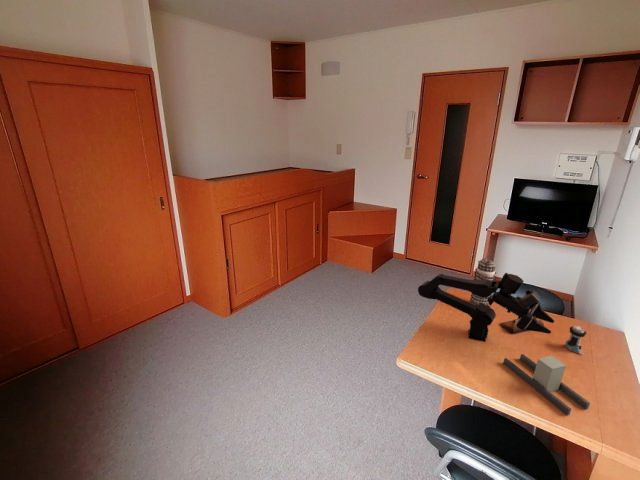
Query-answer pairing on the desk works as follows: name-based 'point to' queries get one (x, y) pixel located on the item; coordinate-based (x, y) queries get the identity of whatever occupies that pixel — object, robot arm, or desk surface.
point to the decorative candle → (486, 273)
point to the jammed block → (549, 373)
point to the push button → (575, 339)
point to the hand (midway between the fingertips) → (552, 327)
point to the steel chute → (545, 392)
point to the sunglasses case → (513, 326)
